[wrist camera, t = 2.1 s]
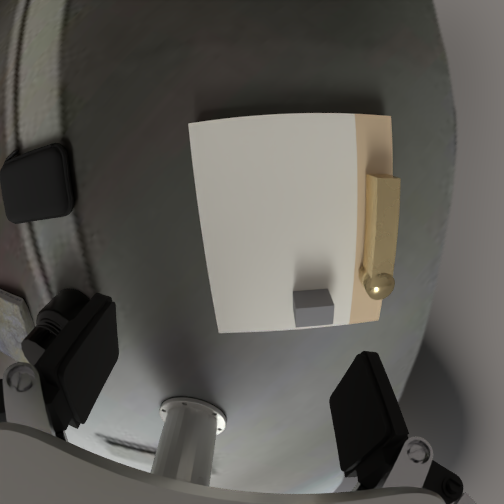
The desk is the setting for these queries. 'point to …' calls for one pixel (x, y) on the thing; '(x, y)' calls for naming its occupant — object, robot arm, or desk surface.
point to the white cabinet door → (287, 216)
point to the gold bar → (380, 234)
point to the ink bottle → (52, 322)
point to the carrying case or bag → (37, 184)
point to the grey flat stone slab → (14, 325)
